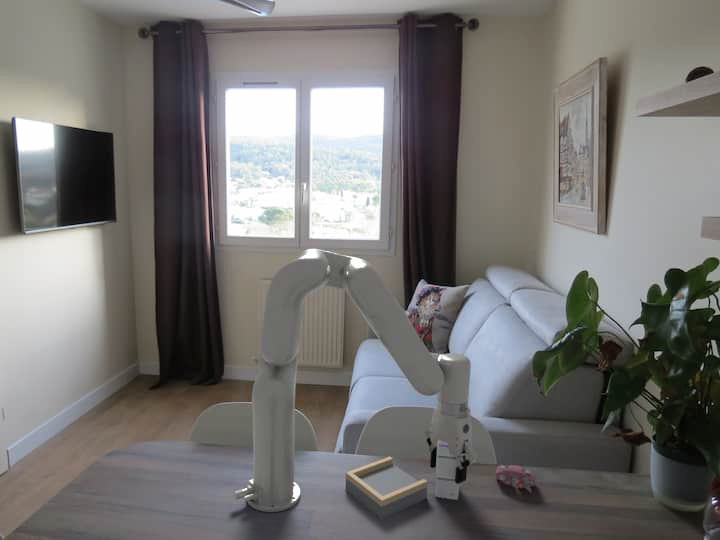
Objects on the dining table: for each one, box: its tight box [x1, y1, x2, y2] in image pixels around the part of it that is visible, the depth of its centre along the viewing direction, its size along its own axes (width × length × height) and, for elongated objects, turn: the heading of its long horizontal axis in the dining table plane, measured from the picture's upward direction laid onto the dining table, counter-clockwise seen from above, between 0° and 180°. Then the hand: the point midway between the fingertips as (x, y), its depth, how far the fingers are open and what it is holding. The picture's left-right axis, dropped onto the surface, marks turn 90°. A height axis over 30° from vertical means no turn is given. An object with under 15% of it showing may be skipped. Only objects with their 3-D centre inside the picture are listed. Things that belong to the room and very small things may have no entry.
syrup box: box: [434, 438, 462, 501], centre depth 127 cm, size 6×6×14 cm
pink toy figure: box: [494, 464, 537, 489], centre depth 131 cm, size 10×5×7 cm, turn 70°
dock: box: [345, 456, 428, 519], centre depth 126 cm, size 14×14×4 cm
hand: (447, 473), depth 127 cm, fingers closed on syrup box, 7 cm apart
